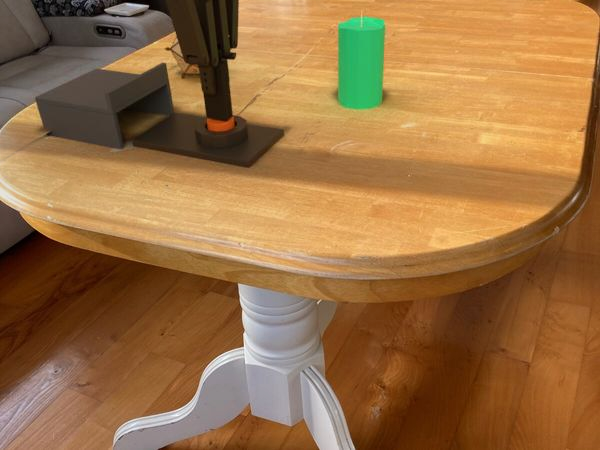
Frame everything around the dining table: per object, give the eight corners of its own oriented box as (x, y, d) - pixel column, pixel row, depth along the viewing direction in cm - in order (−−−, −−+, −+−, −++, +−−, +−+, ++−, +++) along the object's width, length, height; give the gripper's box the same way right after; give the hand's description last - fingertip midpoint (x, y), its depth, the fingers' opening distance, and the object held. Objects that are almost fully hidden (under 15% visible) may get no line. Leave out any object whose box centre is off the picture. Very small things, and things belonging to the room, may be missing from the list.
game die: (213, 94, 94) (244, 39, 92) (198, 94, 86) (232, 33, 84) (166, 64, 94) (195, 8, 92) (146, 61, 86) (178, -1, 83)
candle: (371, 90, 83) (374, 2, 76) (389, 105, 78) (394, 13, 71) (331, 97, 81) (331, 8, 75) (347, 112, 77) (348, 19, 70)
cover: (45, 135, 74) (29, 81, 70) (104, 103, 83) (92, 53, 79) (121, 150, 70) (108, 93, 66) (174, 115, 78) (166, 62, 74)
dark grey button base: (132, 146, 71) (128, 127, 69) (175, 118, 77) (172, 100, 76) (249, 168, 65) (247, 148, 63) (284, 136, 71) (283, 116, 70)
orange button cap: (202, 134, 69) (201, 122, 68) (217, 123, 71) (215, 111, 70) (226, 138, 68) (225, 125, 67) (240, 127, 70) (238, 115, 69)
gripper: (196, -121, 62) (220, 93, 75) (115, -110, 52) (160, 134, 65) (259, -122, 59) (273, 101, 72) (186, -110, 49) (218, 144, 62)
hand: (219, 116), depth 68 cm, fingers closed
